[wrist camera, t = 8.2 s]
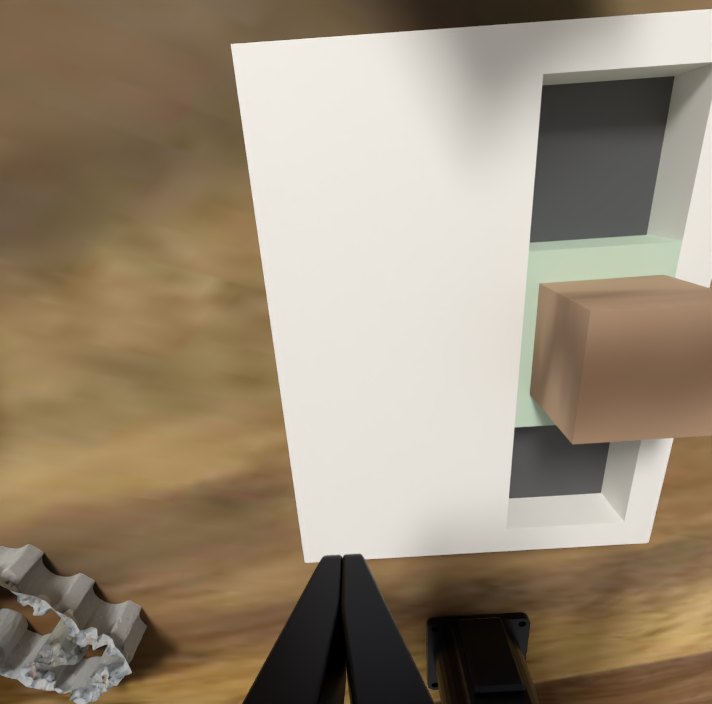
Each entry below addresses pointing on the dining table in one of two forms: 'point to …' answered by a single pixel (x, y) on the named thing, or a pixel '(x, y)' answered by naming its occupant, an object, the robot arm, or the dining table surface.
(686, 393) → the walnut block
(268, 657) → the robot arm
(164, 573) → the dining table surface
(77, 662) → the egg carton
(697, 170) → the tray
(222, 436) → the dining table surface
